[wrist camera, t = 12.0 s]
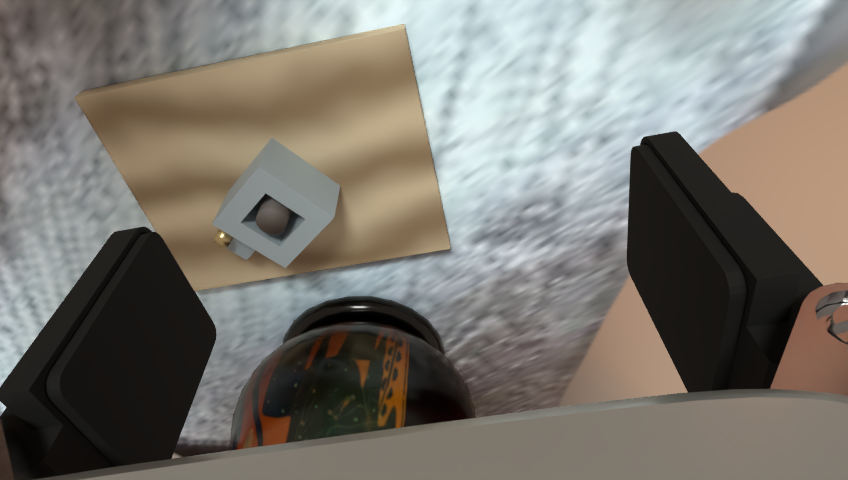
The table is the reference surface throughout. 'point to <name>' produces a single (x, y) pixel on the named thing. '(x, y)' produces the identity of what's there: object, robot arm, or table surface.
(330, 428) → the black orange vase
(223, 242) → the cylinder
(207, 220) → the post base
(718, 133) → the table surface
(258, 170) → the grey square hole block
